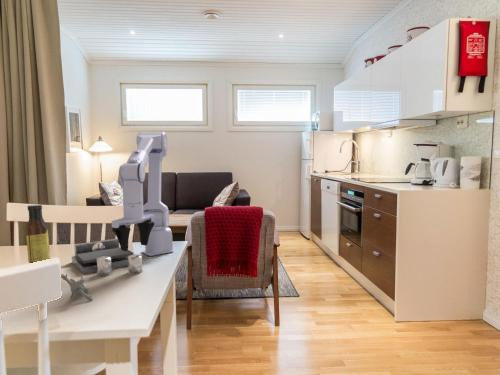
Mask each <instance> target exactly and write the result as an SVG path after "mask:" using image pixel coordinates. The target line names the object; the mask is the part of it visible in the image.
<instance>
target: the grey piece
mask: <svg viewBox="0 0 500 375" xmlns="http://www.w3.org/2000/svg"><path fill="white" fill-rule="evenodd" d="M60 275H61V277H60V278H61V280H62V279H63V280H64V281H66V283H67V284H68V285H69V286H70V292H71V295H70V299H71V298H72V297H74V296H78V295H82V296H83V297H85V299H86V300H87V301H88V302H92V301H93V300H94V298H92V297H93V294H91V295H88V294H87V292H88V290H89V287H88V286H85V285H84V284H85V283H86V282H87V280H88V279H87V278H86V279H84V276H81V277H80V279H78V280H77V281H76V280H75V279H73V278H70V279H69V278H68V273H66V274H63V273H61V274H60Z"/></svg>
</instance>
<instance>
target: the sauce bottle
mask: <svg viewBox="0 0 500 375" xmlns="http://www.w3.org/2000/svg"><path fill="white" fill-rule="evenodd" d="M42 210H43V205H42V204H38V203H37V204H29V205H27V211H28V221H27V223H26V225H25V231H26V232H25V233H26V234H25V236H26V237H25V238H26V247H27V248H26V249H27V260H28V264H29V263H33V262H37V261H42V260H46V259H50V260H51V251H50V249H51V248H50V239H49V238H50V237H49V228H48V226H47V223H46V222H45V220H44V217H43V211H42Z"/></svg>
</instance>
